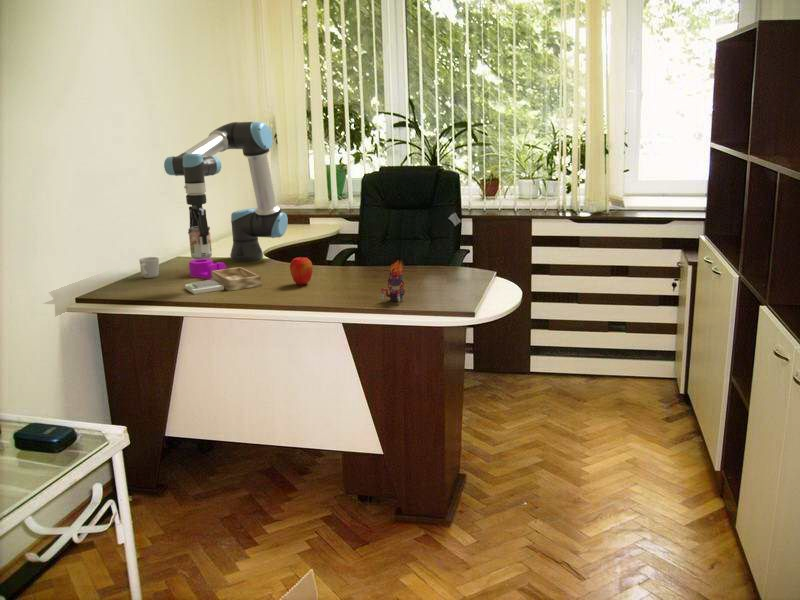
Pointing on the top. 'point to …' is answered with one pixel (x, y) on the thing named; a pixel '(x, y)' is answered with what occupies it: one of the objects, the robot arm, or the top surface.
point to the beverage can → (198, 244)
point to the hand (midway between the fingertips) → (200, 250)
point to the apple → (301, 270)
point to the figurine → (395, 283)
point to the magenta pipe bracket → (204, 268)
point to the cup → (149, 267)
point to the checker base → (203, 290)
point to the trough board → (236, 278)
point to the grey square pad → (203, 284)
